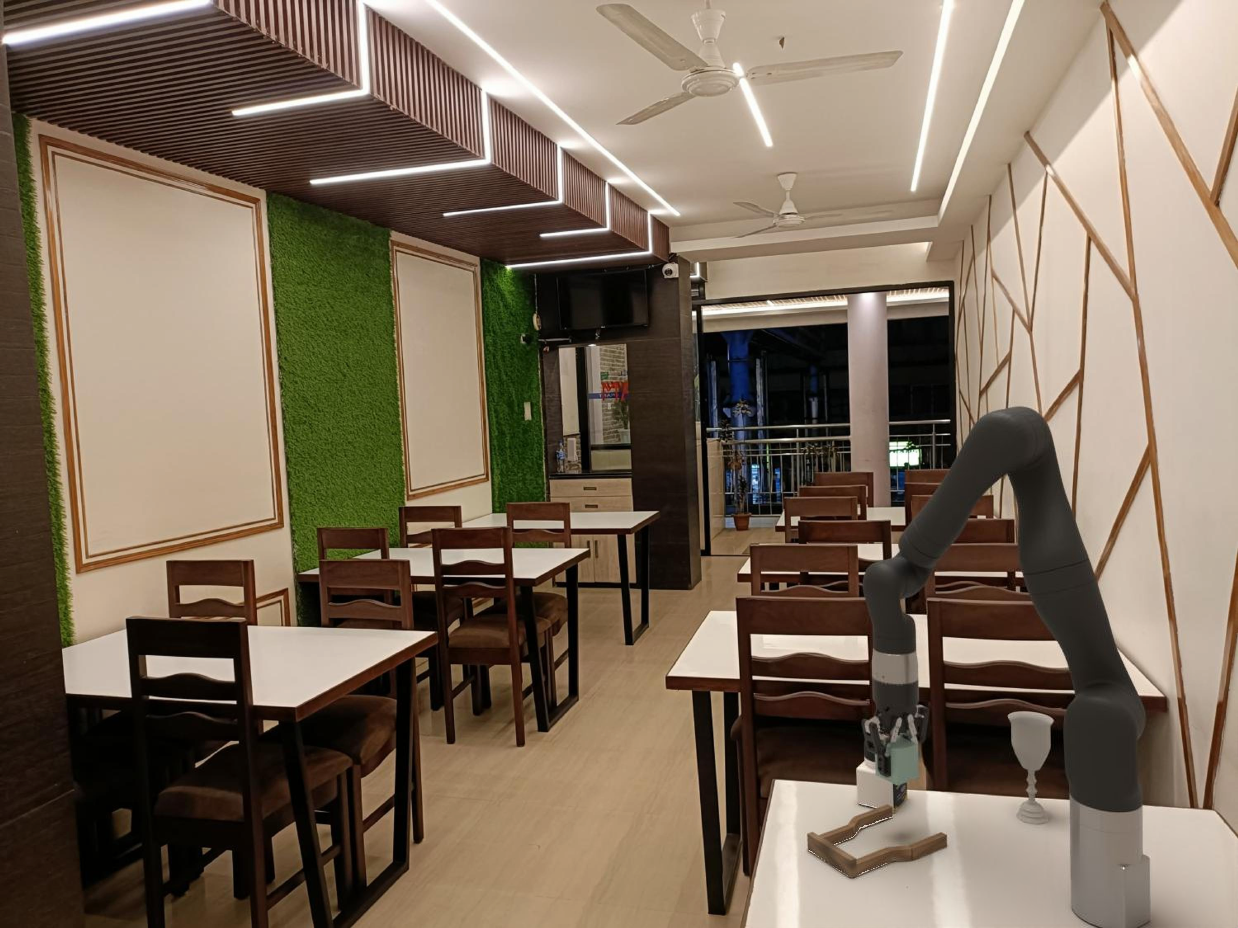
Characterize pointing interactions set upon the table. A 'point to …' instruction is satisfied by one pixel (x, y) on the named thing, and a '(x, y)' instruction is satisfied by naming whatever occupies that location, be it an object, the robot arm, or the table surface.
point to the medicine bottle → (877, 786)
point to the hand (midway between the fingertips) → (897, 770)
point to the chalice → (1031, 756)
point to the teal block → (902, 762)
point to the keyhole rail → (854, 867)
